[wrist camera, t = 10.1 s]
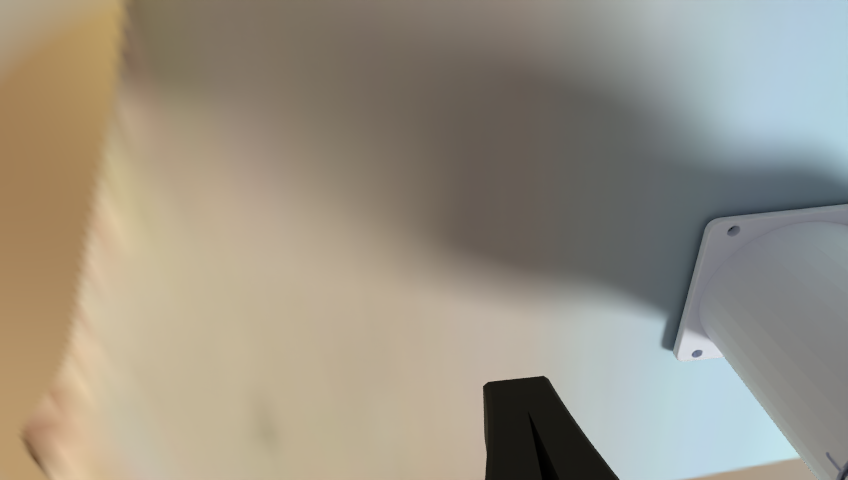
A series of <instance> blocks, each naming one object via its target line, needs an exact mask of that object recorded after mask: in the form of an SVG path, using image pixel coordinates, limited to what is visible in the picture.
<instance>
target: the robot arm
mask: <svg viewBox="0 0 848 480" xmlns="http://www.w3.org/2000/svg"><path fill="white" fill-rule="evenodd" d="M733 226H734V227H733ZM731 227H733V229H731V230H730V231H728V230H729V229H730V228H731ZM673 354H674V355H675V357H676V358H677V360H679V361H693V360H702V359H711V358H721V357H725V359H726V360H727V361H728V363H729V364H730V365H731V367H732V368H733V369H734V370H735V372H736V373H737V374H738V376H739V377H740V378H741V380H742V381H743V382H744V384H745V385H746V386H747V387H748V389H749V390H750V391H751V393H752V394H753V395H754V397H755V398H756V399H757V401H758V402H759V403H760V405H761V406H762V407H763V408H764V410H765V411H766V412H767V414H768V415H769V416H770V418H771V419H772V420H773V422H774V423H775V424H776V425H777V427H778V428H779V429H780V431H781V432H782V433H783V435H784V436H785V437H786V439H787V440H788V441H789V442H790V444H791V445H792V446H793V448H794V449H795V450H796V452H797V453H798V454H799V456H800V457H801V458H802V460H803V461H804V462H805V463H806V465H807V466H808V467H809V469H810V470H811V471H812V473H813V474H814V475H815V476H816V478H817V479H818V480H848V204H843V205H834V206H824V207H815V208H806V209H796V210H787V211H777V212H768V213H758V214H749V215H739V216H730V217H721V218H716V219H714V220H712V221H710V222H709V223H708V225H707V226H706V228H705V231H704V234H703V238H702V242H701V246H700V250H699V254H698V257H697V261H696V265H695V269H694V273H693V277H692V280H691V284H690V288H689V292H688V296H687V300H686V303H685V307H684V311H683V315H682V319H681V322H680V326H679V330H678V334H677V338H676V342H675V345H674V349H673ZM483 398H484V433H485V444H486V451H487V460H486V476H485V480H619V478H618V477H617V476H616V475H615V473H614V472H613V471H612V470H611V468H610V467H609V466H608V464H607V463H606V462H605V461H604V459H603V458H602V457H601V455H600V454H599V453H598V451H597V450H596V449H595V448H594V446H593V445H592V444H591V442H590V441H589V440H588V438H587V437H586V435H585V434H584V433H583V431H582V430H581V428H580V427H579V426H578V424H577V423H576V421H575V420H574V418H573V417H572V416H571V414H570V413H569V411H568V410H567V408H566V407H565V405H564V404H563V402H562V401H561V399H560V397H559V396H558V394H557V393H556V391H555V389H554V388H553V386H552V384H551V383H550V381H549V379H547V378H546V377H545V376H539V377H530V378H521V379H512V380H502V381H493V382H488V383H486V384H485V385H484V386H483Z"/></svg>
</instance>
